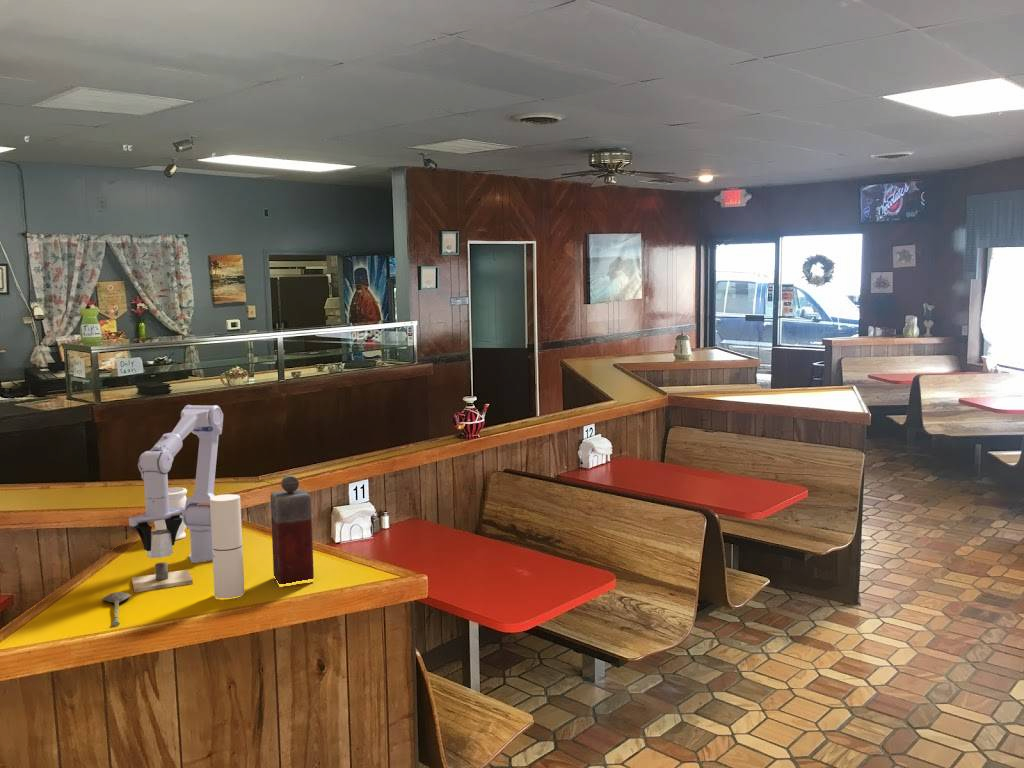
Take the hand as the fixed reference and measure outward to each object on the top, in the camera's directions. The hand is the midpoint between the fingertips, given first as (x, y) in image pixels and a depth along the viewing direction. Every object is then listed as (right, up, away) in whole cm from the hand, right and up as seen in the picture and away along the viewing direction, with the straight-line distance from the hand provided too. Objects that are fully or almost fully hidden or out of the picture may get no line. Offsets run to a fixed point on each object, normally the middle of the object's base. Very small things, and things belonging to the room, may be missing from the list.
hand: (159, 547), depth 226 cm
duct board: (0, -9, +1) cm, 9 cm away
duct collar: (0, -2, 0) cm, 2 cm away
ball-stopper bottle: (+34, -9, +3) cm, 36 cm away
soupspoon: (-3, -12, -19) cm, 23 cm away
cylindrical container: (+21, -10, -10) cm, 26 cm away
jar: (-14, -5, +44) cm, 46 cm away
